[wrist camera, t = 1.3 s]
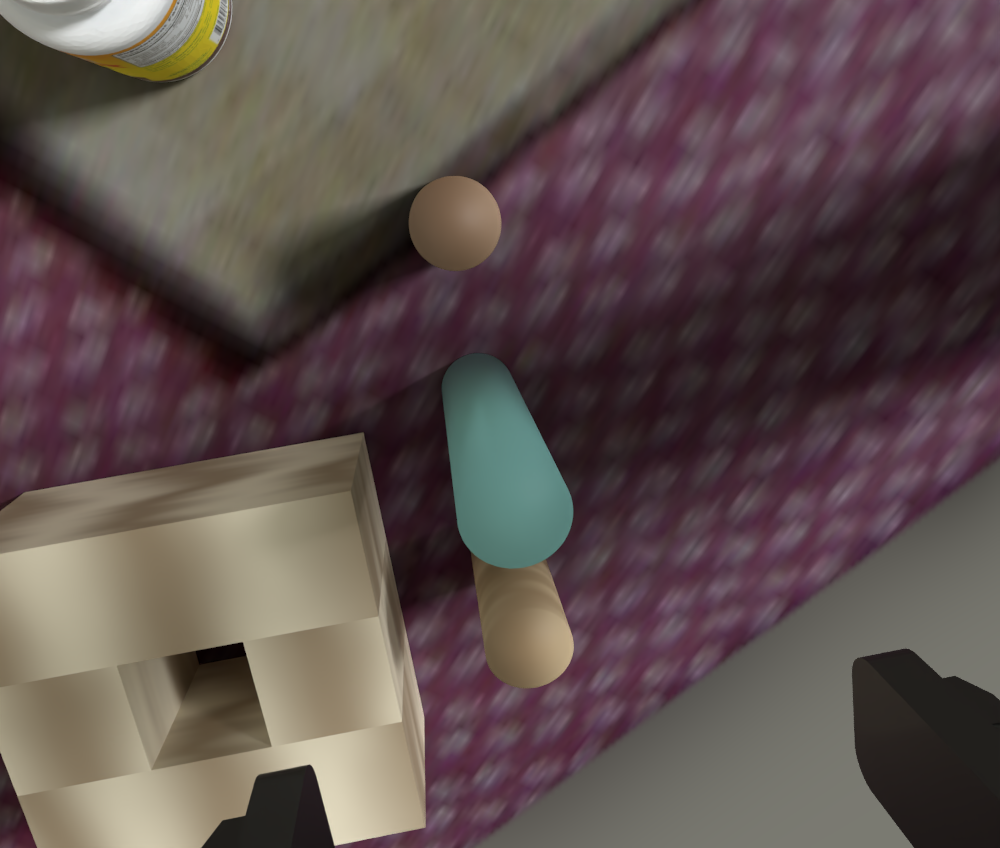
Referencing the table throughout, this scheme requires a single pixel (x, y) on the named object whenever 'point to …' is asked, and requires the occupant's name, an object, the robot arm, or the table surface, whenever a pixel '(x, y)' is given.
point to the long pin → (501, 468)
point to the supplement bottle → (128, 32)
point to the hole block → (201, 625)
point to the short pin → (454, 223)
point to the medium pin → (522, 623)
